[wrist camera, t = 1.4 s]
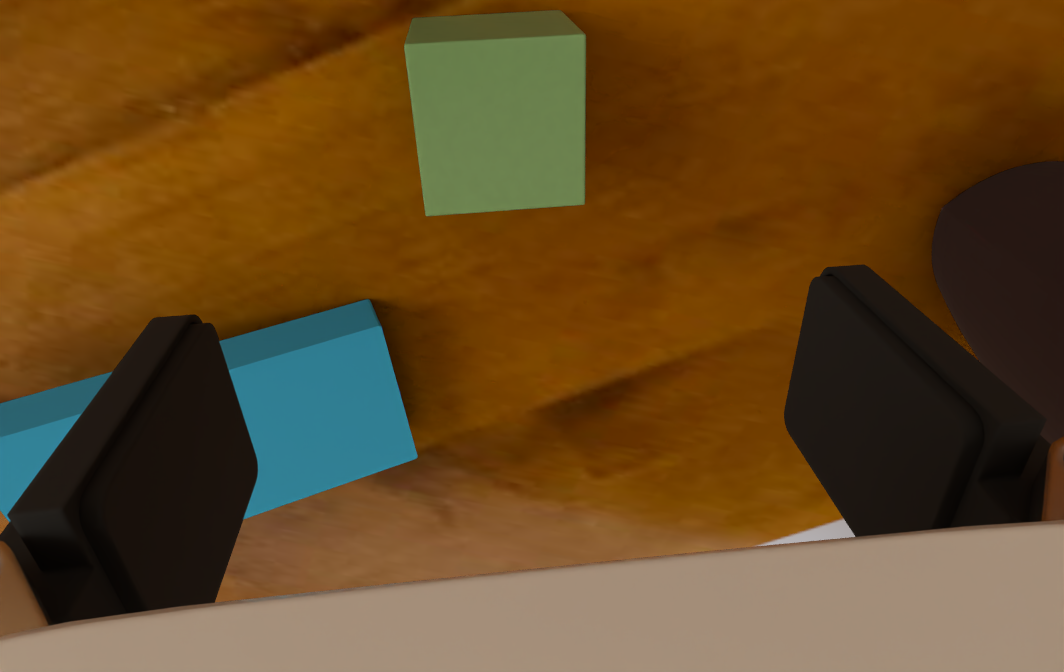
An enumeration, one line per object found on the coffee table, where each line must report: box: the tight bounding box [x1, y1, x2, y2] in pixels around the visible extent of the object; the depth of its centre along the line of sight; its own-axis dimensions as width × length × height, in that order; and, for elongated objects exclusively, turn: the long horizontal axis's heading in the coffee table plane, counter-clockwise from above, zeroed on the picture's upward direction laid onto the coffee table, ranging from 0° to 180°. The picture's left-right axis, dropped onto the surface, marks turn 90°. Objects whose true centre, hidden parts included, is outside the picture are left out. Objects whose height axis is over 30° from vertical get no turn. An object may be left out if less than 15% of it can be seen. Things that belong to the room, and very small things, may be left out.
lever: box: [0, 299, 418, 522], centre depth 29 cm, size 7×7×18 cm
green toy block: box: [404, 10, 586, 216], centre depth 22 cm, size 5×5×5 cm
